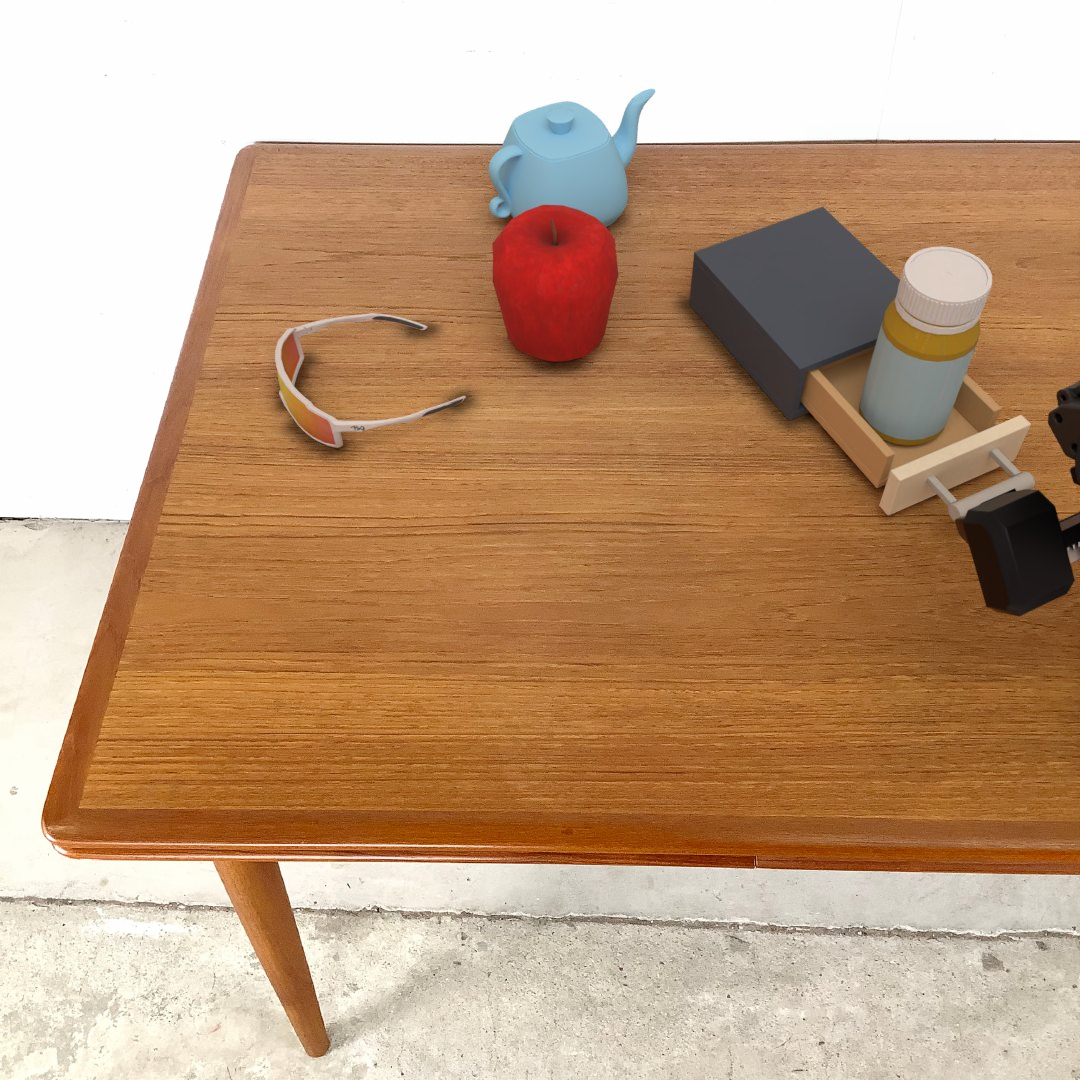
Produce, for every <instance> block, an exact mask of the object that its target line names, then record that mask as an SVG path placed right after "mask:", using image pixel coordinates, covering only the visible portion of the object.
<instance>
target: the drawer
mask: <svg viewBox="0 0 1080 1080" xmlns="http://www.w3.org/2000/svg"><path fill="white" fill-rule="evenodd" d="M874 349H875V346H873V347H871V348H868V349H866V350H863V351H860V352H858V353H855V354H853V355H850V356H848V357H845V358H843V359H840V360H838V361H835V362H832V363H830V364H827V365H825V366H822V367H820V368H817V369H815V370H812V371H809V372H807V373H806V377H805V382H804V386H803V391H802V396H801V400H800V402H801V403H802V404H803V405H804V406H805V407H806V408H807V410H808V411H809V412H810V415H811V416H813V418H814V419H815V420H816V421H817V422H818V424H820V426H821V427H823V429H824V430H825V431H826V432H827V434H828V435H829V436H830V437H831V439H833V441H834V442H835V443H836V444H837V445H838V446H839V448H841V449H842V450H843V452H844V453H845V454H846V455H847V456H848V458H850V460H851V462H853V464H855V466H856V467H857V468H858V469H859V470H860V471H861V472H862V473H863V474H864V476H865V477H866V478H867V479H868V480H869V481H870V483H872V485H873V486H874V487H875V488H876V489H879V488H881V487H883V486H885V487H884V490H883V492H882V496H881V498H880V502H879V504H878V506H879V508H881V510H882V511H883V512H884V513H885V514H886V515H887V516H891V515H893V514H895V513H897V512H900V511H902V510H904V509H907V508H910V507H911V506H913V505H916V504H918V503H921V502H923V501H925V500H927V499H930V498H932V497H934V496H938V497H939V499H941V500H942V501H943V503H944V504H945V505H946V506H947V513H948V515H949V517H950V518H951V520H952V521H954V522H955V519H957V518H959V517H962V516H966V513H967V511H968V510H969V509H971V508H974V507H976V506H978V505H980V504H981V503H983V502H985V501H987V500H989V499H992V498H994V497H996V496H998V495H1001V494H1003V493H1005V492H1007V491H1010V490H1012V489H1014V488H1015V489H1016V491H1020V490H1024V489H1030V490H1033V489H1034V487H1035V485H1036V480H1035V478H1034V476H1033V475H1032V473H1030V472H1029V471H1023V472H1021V470H1019V469H1018V467H1016V465H1014V464H1013V462H1014V461H1015V460H1016V459H1017V456H1018V454H1019V452H1020V449H1021V448H1022V445H1023V443H1024V441H1025V439H1026V436H1027V434H1028V432H1029V430H1030V428H1031V426H1032V424H1031V422H1030V421H1029V420H1028V419H1027V418H1026V417H1024V415H1022V414H1019V415H1017V416H1015V417H1012V418H1009V419H1008V420H1006V421H1005V420H1004V421H1003V422H1001V423H998V424H996V423H997V421H998V418H999V416H1000V413H1001V411H1002V407H1001V405H999V404H998V403H997V402H996V401H995V400H994V399H993V398H992V397H991V396H990V395H989V394H988V393H987V392H986V391H985V390H984V389H983V388H982V387H981V386H980V385H978V384H977V382H975V380H973V378H972V377H971V376H970V375H968V374H967V373H966V374H965V377H964V379H963V382H962V385H961V387H960V390H959V393H958V395H957V398H956V401H955V403H954V406H953V408H952V411H951V414H950V416H949V419H948V421H947V423H946V426H945V428H944V430H943V432H942V433H941V434H940V435H939V436H937V437H936V438H935V439H933V440H931V441H929V442H926V443H923V444H919V445H911V446H903V445H895V444H892V443H889V442H886V441H884V440H882V439H881V438H880V436H879V435H878V434H877V433H876V432H875V431H874V430H873V429H872V428H871V427H870V425H869V424H868V423H867V422H866V421H865V420H864V419H863V418H862V417H861V416H860V414H859V404H860V400H861V396H862V392H863V388H864V385H865V381H866V378H867V374H868V371H869V367H870V363H871V360H872V356H873V353H874ZM998 468H1001V469H1002V470H1003V471H1004V472H1005V473H1006V474H1007V475H1008V477H1009V478H1007V479H1005V480H1002V481H1000V482H998V483H995V484H993V485H991V486H989V487H987V488H984V489H982V490H979V491H977V492H975V493H972V494H971V495H968V496H966V497H963V498H962V499H960V500H958V499H957V498H956V497H955V496H954V495H953V494H952V493H951V492H950V490H951V489H952V488H955V487H957V486H959V485H962V484H964V483H966V482H968V481H971V480H973V479H975V478H977V477H980V476H982V475H984V474H986V473H989V472H991V471H994V470H996V469H998Z"/></svg>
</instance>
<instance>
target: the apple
mask: <svg viewBox="0 0 1080 1080" xmlns="http://www.w3.org/2000/svg"><path fill="white" fill-rule="evenodd" d="M491 247H492V284H493V288H494V291H495V294H496V298H497V302H498V305H499V308H500V312H501V316H502V320H503V323H504V327H505V331H506V335H507V339H508V340H509V341H510V343H511V344H512V345H513V346H514V347H515V349H516V350H518V351H520V352H522V353H524V354H526V355H528V356H529V357H532V358H536V359H538V360H539V359H540V360H543V361H546V362H547V361H548V362H555V363H557V362H569V361H573V360H576V359H580V358H583V357H586V356H588V355H589V354H590V353H592V352H593V351H594V350H595V349H597V348H598V347H599V346H600V344H601V342H602V340H603V339H604V336H605V333H606V331H607V325H608V320H609V315H610V312H611V311H610V310H611V307H612V302H613V298H614V293H615V290H616V286H617V282H618V279H619V269H618V268H619V267H618V260H617V259H618V257H617V247H616V238H615V237H614V235H613V234H612V233H611V231H610V230H609V229H608V226H607V227H606V226H605V225H604V224H603V223H602V222H601V221H599V220H598V219H597V218H596V217H594V216H591V215H589V214H587V213H585V212H583V211H581V210H577V209H574V208H570V207H567V206H563V205H541V206H538V207H535V208H532V209H529V210H527V211H525V212H523V213H521V214H520V215H518V216H516V217H515V218H513V217H512V218H511V220H510V221H509V222H508V223H507V224H506V225H505V226H504V228H503V229H502V230H501V231H500V233H499V234H498V235H497V236H496V238H495V239H494V240H493V242H492V244H491Z"/></svg>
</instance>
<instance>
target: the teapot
mask: <svg viewBox="0 0 1080 1080" xmlns="http://www.w3.org/2000/svg"><path fill="white" fill-rule="evenodd" d="M655 93H656V89H655V88H647V89H645V90H643V91H640V92H639V93H637V94H636V95H634V96H633V97H632V98H631V99H630V101H628V104H627V105H626V107H625V109H624V112H623V115H622V118H621V121H620V124H619V126H618V128H617V130H616V132H615V133H614V134H613V135H611V133H610V131H609V129H608V128H607V125H606V124H605V123H604V122H603V120H602V119H601V118H600V117H599V116H598V115H597V114H596V113H594V112H593V111H592V110H590V109H589V108H588V107H586V106H584V105H582V104H580V103H577V102H574V101H569V100H568V101H567V100H565V101H559V102H554V103H551V104H550V103H549V104H546V105H543V106H540V107H537V108H533V109H531V110H527V111H526V112H523V113H522V114H519V115H518V116H517V117H515V118H514V119H513V121H512V123H511V125H510V126H509V129H508V130H507V133H506V135H505V138H504V140H503V142H502V145H501V148H499V150H497V152H495V153H494V154H493V156H492V157H491V159H490V160H489V165H488V176H489V179H490V181H491V183H492V186H493V187H494V189H495V191H496V192H497V194H498V195H497V196H493V198H491V199H490V202H489V204H488V205H489V206H488V208H489V212H490V214H491V215H492V216H493V217H494V218H496V219H506V218H508V217H510V216H511V218H512V219H513V218H515V217H516V216H518V215H520V214H521V213H523V212H525V211H527V210H529V209H532V208H535V207H538V206H541V205H563V206H567V207H570V208H574V209H577V210H581V211H583V212H585V213H587V214H589V215H591V216H594V217H596V218H597V219H598V220H599V221H601V222H602V223H603V224H604V225H605V226H606V227H607V228H608V227H609V226H612V224H614V223H615V222H616V221H617V220H618V219H619V218H620V216H621V215H622V214H623V213H624V211H625V209H626V208H627V205H628V200H629V188H628V187H629V186H628V180H627V175H626V168H627V167H628V166H629V164H630V163H631V161H632V160H633V158H634V155H635V153H636V149H637V145H638V133H639V131H638V130H639V122H640V118H641V117H640V116H641V113H642V111H643V109H644V107H645V105H646V104H647V103H648V102H649V101H650V100H651V98H652V97H653V96H654V95H655Z"/></svg>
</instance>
